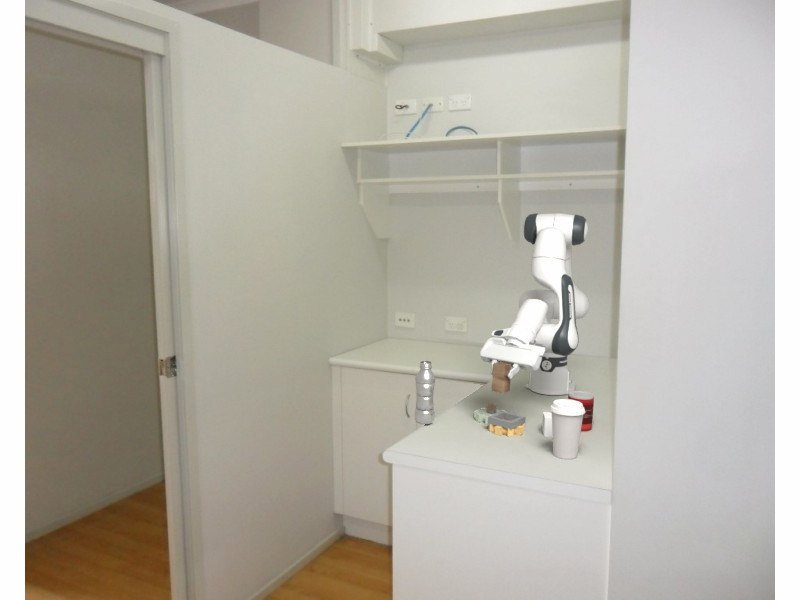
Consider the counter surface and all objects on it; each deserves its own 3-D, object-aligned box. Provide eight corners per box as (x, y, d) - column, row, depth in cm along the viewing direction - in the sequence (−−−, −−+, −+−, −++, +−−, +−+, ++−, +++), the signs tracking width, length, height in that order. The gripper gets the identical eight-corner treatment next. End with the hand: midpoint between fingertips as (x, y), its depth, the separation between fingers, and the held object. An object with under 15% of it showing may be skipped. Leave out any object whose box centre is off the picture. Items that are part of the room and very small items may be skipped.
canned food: (572, 422, 207) (574, 389, 205) (596, 427, 202) (598, 393, 200) (562, 427, 201) (563, 394, 199) (586, 433, 196) (588, 399, 194)
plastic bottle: (436, 421, 205) (438, 360, 202) (431, 427, 199) (433, 365, 196) (417, 419, 207) (418, 359, 204) (411, 425, 200) (413, 363, 198)
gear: (478, 412, 214) (478, 398, 214) (510, 416, 211) (510, 401, 210) (471, 422, 204) (471, 407, 204) (504, 426, 201) (505, 411, 200)
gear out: (500, 422, 204) (501, 409, 204) (530, 430, 198) (531, 416, 197) (482, 430, 196) (482, 417, 196) (512, 439, 189) (513, 424, 189)
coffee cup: (540, 454, 178) (543, 402, 176) (559, 446, 184) (561, 396, 182) (571, 464, 171) (574, 410, 169) (589, 455, 177) (592, 403, 175)
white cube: (564, 438, 191) (565, 419, 191) (544, 437, 192) (544, 418, 191) (561, 431, 197) (562, 412, 197) (542, 430, 198) (542, 411, 197)
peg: (499, 388, 199) (500, 362, 198) (509, 390, 196) (510, 364, 195) (491, 390, 196) (492, 364, 195) (502, 393, 193) (503, 366, 192)
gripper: (551, 351, 196) (533, 388, 190) (495, 341, 210) (477, 375, 204) (544, 339, 192) (526, 376, 186) (488, 330, 206) (469, 364, 200)
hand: (500, 375), depth 195 cm, fingers closed on peg, 4 cm apart
